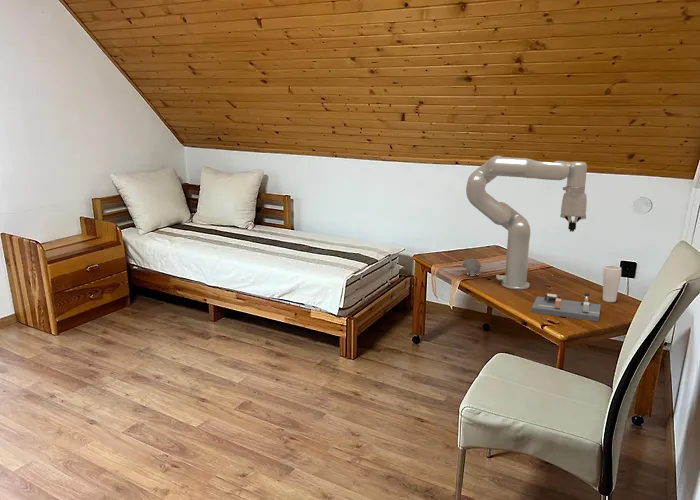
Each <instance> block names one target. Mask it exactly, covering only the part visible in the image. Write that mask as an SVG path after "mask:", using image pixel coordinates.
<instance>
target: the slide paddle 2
mask: <svg viewBox="0 0 700 500" xmlns="http://www.w3.org/2000/svg"><path fill="white" fill-rule="evenodd" d="M583 302H584V305H583V311H584V312H589V301H588V302H585V301H583Z"/></svg>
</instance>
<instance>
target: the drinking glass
mask: <svg viewBox="0 0 700 500" xmlns="http://www.w3.org/2000/svg"><path fill="white" fill-rule="evenodd" d="M621 278H622V266H619V265H613V264H612V265H611V264H608V265H604V267H603V274H602V301H603V302H606V303H615V302H616V301H617V298H618V292H619V287H620V283H621Z"/></svg>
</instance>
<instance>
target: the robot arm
mask: <svg viewBox="0 0 700 500" xmlns="http://www.w3.org/2000/svg"><path fill="white" fill-rule="evenodd" d="M587 171H588V164H587V163H586V162H584V161H564V160H556V161H552V162H550V161H539V160H534V159H531V158H527V157H510V156H509V157H508V156H501V155H494V156H492V157H491V158H489V159H488V160H487V161H486V162H484V163H483V164H482V165H480V166H479V167H478V168H476V169H475V170H474V171H473V172H471V173H470V175H469V176H468V178H467V181H466V187H465V188H466V189H465V193H466V197H467V200H468V202H469V203H470V204H471V205H472V206H473V207H475V209H476V210H478V212H479V211H480V212H481V214H482V215H484V216H485V217H486V218H488V220H490V221H491V222H492V223H493V224H495V225H497V226H501V227H503V228H504V229H505V230H507V245H506V246H507V247H506V260H505V261H506V264H505V274H503V275H501V274H496V275H495V279H497V280H498V281H501V285H502V287H504V288H507V289H511V290H526V289H528V288H530V285H531V284H530V283H529V282H528V281H527V277H528V265H529V249H530V241H531V226H530V224H529V221H528V220H527V219H526V218H525V216H523V215H522V214H521V213H519V212H518V211H517V210H515V209H514V208H513V207H511V206H510V205H509V204H507V203H506V202H502V201H498V200H497V199H495V197H493V196H492V195H490V194H489V193H488V192H487V191H486V186H487V185H488V184H489V183H490V182H492V181H493V180H495V179H496V178H497V177H512V178H524V179H525V178H526V179H537V180H546V181H547V180H549V181H563V180H566V186H563V187H562V190H563V191H565V192H563V195H562V201H561V206H560V215H559V217H560V218H562V219H565V220H566V221H567V222H568V227H567V228H568V230H569V232H572V233H574V231H576V229H577V228H576V227H577V222H579V221H580V220H585V219H587V215H586V214H587V206H588V205H587V202H588V201H587V198H588V197H587V193H586V192H585V191H586V179H587ZM572 217H574V219H573V218H572ZM572 219H573V220H572Z"/></svg>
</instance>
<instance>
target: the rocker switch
mask: <svg viewBox="0 0 700 500" xmlns="http://www.w3.org/2000/svg"><path fill="white" fill-rule="evenodd" d="M547 298H552V299H556V298H558V295H557V294H554V293H547Z"/></svg>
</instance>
